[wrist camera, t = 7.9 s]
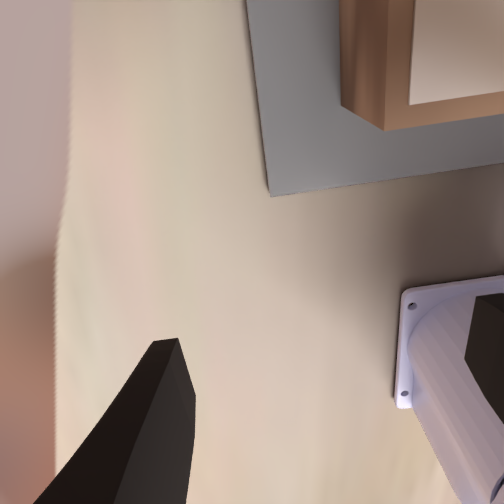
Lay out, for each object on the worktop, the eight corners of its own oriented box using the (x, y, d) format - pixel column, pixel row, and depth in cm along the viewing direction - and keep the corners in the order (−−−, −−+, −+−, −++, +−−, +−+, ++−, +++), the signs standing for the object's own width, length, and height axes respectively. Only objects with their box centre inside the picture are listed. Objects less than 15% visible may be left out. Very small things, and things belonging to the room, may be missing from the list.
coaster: (505, 157, 18) (513, 161, 17) (269, 192, 18) (270, 197, 17) (570, -180, 12) (585, -190, 12) (230, -123, 12) (231, -130, 12)
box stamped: (451, 89, 15) (541, 108, 11) (340, 105, 15) (385, 131, 11) (466, -50, 13) (587, -96, 9) (338, -30, 13) (392, -65, 9)
